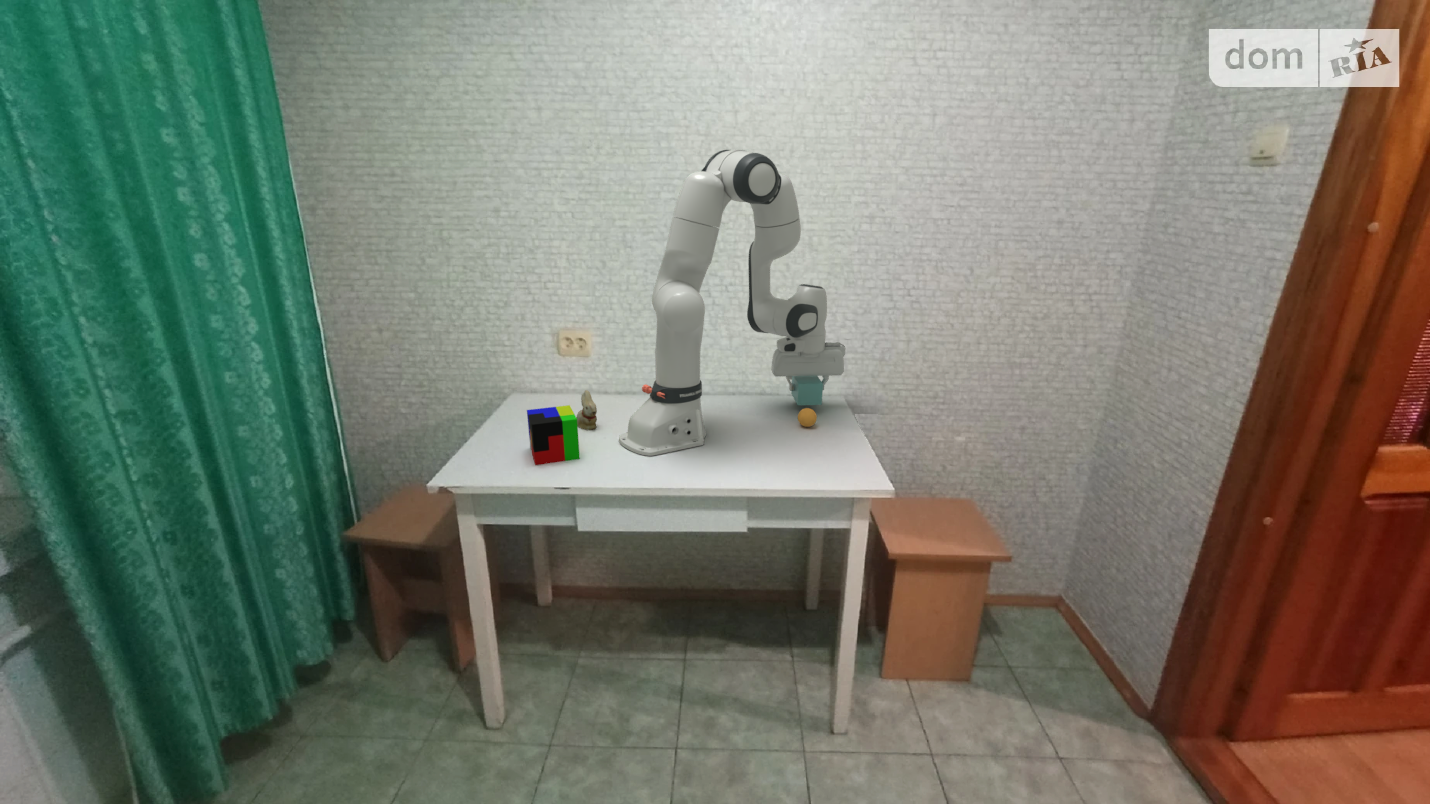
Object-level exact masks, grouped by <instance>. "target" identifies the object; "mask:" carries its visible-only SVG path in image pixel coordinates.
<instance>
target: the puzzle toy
mask: <svg viewBox="0 0 1430 804" xmlns="http://www.w3.org/2000/svg"><path fill="white" fill-rule="evenodd" d="M526 414H527V426H528V427H527V428H528V437H529V449H530V452H531V455H532V459H533V461H534V465H535V466H539V465H540V466H541V465H547V464H554V463H560V462H568V461H575V460H580V458H581V457H580V443H579V427H578V425H577V418H576V417H577V415H575V413H574V411H573V408H572V407H571V405H570V404H569V405H559V406H558V405H557V406H550V407H542V408H533V409H526Z"/></svg>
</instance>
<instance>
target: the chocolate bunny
mask: <svg viewBox="0 0 1430 804" xmlns="http://www.w3.org/2000/svg"><path fill="white" fill-rule="evenodd" d="M580 397H581V398H580V399H581V401H580V402H581V406H582V409H580V410H578V412H577V414H576V418H577V425H578V429H579V428H580V429H581V430H586V431H593V430H595V429H596V428H597V420H598V419H597V418H598V417H597V413H598V412H597V411H598V409H597V404H596V403H595V402H594V400H593V398H592V394H591V392H590V391H589V390H587V389H586V390H584V391H583V392H582V394H581V396H580Z"/></svg>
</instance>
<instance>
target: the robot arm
mask: <svg viewBox="0 0 1430 804" xmlns="http://www.w3.org/2000/svg"><path fill="white" fill-rule="evenodd" d="M793 185H794V184H793V182H792V180H791V179H790V178H789V176H787V175H786V174H783V173H781V172H779V171H778V168H777V166H776V164H775V163H774V162H773V161H772V159H770V157H768V156H766V155H764V154H762V153H759V152H751V151H748V150H745V149H724V150H720V151H717V152H716V153H714V154H713V155H712V156H710V157H709V159H708V160H707V162H706V164H705V165H704V167H703V168H702V169H701V170H700V171H699V170H697V171H694V172H690V174H689V175H687V177H685V179H684V181H683V183H682V186H681V189H680V192H679V195H678V197H677V199H676V202H675V207H674V211H673V215H672V219H671V223H670V227H669V234H668V238H667V241H666V246H665V250H664V254H663V257H662V260H661V264H660V266H659V269H658V274H657V276H656V280H655V283H654V286H653V287H654V288H653V291H652V294H651V302H652V307H653V310H654V311H655V315H656V338H655V350H654V353H655V354H654V357H655V358H654V359H655V360H654V362H655V365H654V367H655V381H654V382H653V385H652V386H650V385H648V384H647V383H646V384H643V385H642V386H641V391H642V393H645V394H647V395H649V398H648V399H647V400H646V401H644V403H643V404H642V405H641V406H640V407H639V408H637V410H636V411H635V412H634V413H632V415H630V418H629V420H628V425H627V432H625V433H622V434H620V435H619V436H618V442H619V444H620V445H621V446H623V448H625V449H627V450H629V451H630V452H633V453H636V454H638V455H642V456H647V457H648V456H649V457H652V456H656V455H657V456H658V455H662V454H665V453H666V454H667V453H671V452H675V451H676V452H677V451H681V450H686V449H689V448H696V447H700V446H703V445H704V444H705V438H706V436H707V430H706V427H705V424H704V418H703V413H702V412H703V411H702V403H701V401H702V400H701V397H702V396H703V382H702V379H701V349H702V348H701V347H702V342H703V341H702V340H703V335H704V334H703V333H704V325H705V324H704V323H705V313H706V310H705V309H706V306H705V301H704V298H703V296H702V295H701V294H700V291H701V288H702V284H703V282H704V280H705V277H706V275H707V271H708V269H709V267H710V265H711V264H712V261H713V257H714V254H715V248H716V244H717V241H718V236H719V232H720V228H721V223H722V217H723V213H724V211H725V209H726V207H727V205H728V204H729V203H730V202H731V201H734V202H740V203H747V204H749V205H750V207H751V209H752V213H753V222H754V240H753V241H752V243H751V244H750V246H749V250H748V306H747V314H746V317H747V318H746V319H747V321H748V324H749V326H750V327H751V329H752V330H753V331H755V332H757V333H763V334H772V335H777V336H781V337H783V338H778V340H776V349H775V350H774V352H773V355H772V361H771V373H772V375H773V376H774V377H785V378H786V380H787V382H788V384H789V385H788V388H789V391H790V392H791V391H795V387H796V385H795V384H794V383H792V376H818V377H821V376H822V380H821V382H822V383H823V391H825V385H826V384H827V382H828V380H829V378H830V376H842V374H844V372H845V361H844V357H845V356H846V347H845V345H844V344H842V343H841V342H839V341H837V342H829V341H828V342H826V328H825V327H826V326H825V325H826V320H827V317H828V314H827V313H828V298H827V297H828V296H827V291H826V289H825V288H824V287H822V286H820V285H814V284H807V283H804V284H803V283H802V284H799V285H798V286H797V289H796V291H795V293H794V294H793V295H792V296H791V297H790V298H787V299H784V298H777V297H776V296H774V295H773V294H772V293H771V266H772V263H773V261H774V260H777V259H780V258H782V257H784V256H786V255H788V254H789V253H791V252H792V251H793V250H794V249H795V248H796V247H797V245H798V244H799V242H800V240H801V235H802V234H801V233H802V232H801V231H802V228H801V218H800V211H799V206H798V200H797V196H796V192H795V189H794V186H793Z"/></svg>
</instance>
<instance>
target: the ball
mask: <svg viewBox="0 0 1430 804" xmlns="http://www.w3.org/2000/svg"><path fill="white" fill-rule="evenodd" d="M817 417H818V416H817V413H816V412H815V411H814V409H812V408H809V407H805V408H802V409H801V410H800V411H799V412H798V414H797V422H798V423H799V424H800V425H801V426H803V427H805V428H810V427H812V426H814V425H815V424H816V422H817Z"/></svg>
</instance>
